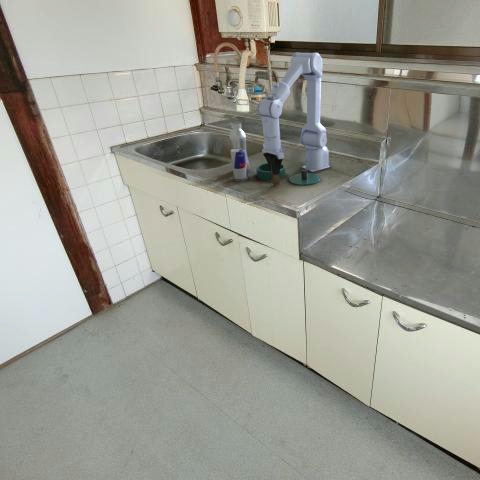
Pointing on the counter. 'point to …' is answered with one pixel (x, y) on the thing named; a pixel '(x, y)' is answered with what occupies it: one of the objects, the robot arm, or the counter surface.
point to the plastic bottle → (239, 140)
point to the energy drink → (239, 164)
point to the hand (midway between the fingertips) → (274, 173)
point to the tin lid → (304, 178)
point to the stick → (275, 178)
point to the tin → (268, 172)
